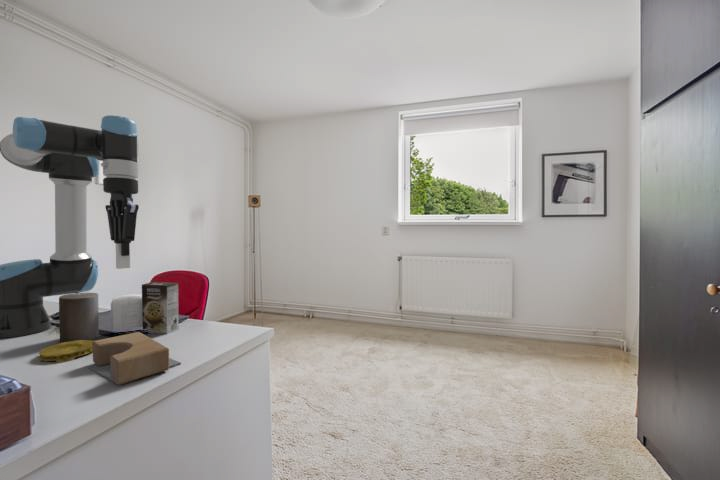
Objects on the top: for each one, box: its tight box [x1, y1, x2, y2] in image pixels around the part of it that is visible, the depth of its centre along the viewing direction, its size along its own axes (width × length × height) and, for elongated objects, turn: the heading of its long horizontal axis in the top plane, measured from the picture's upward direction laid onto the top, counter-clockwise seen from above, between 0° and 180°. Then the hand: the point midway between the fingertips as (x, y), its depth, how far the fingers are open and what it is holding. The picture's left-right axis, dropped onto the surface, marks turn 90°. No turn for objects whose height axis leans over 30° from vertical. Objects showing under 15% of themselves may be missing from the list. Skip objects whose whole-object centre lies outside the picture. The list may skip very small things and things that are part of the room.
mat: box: [87, 357, 182, 386], centre depth 88 cm, size 17×14×1 cm
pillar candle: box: [58, 291, 100, 343], centre depth 108 cm, size 10×10×15 cm
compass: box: [38, 339, 95, 363], centre depth 96 cm, size 12×12×2 cm
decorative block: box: [92, 331, 170, 386], centre depth 87 cm, size 11×6×20 cm
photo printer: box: [110, 293, 143, 330], centre depth 116 cm, size 10×4×12 cm, turn 123°
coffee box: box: [141, 281, 180, 335], centre depth 117 cm, size 9×6×16 cm
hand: (123, 267), depth 92 cm, fingers closed
